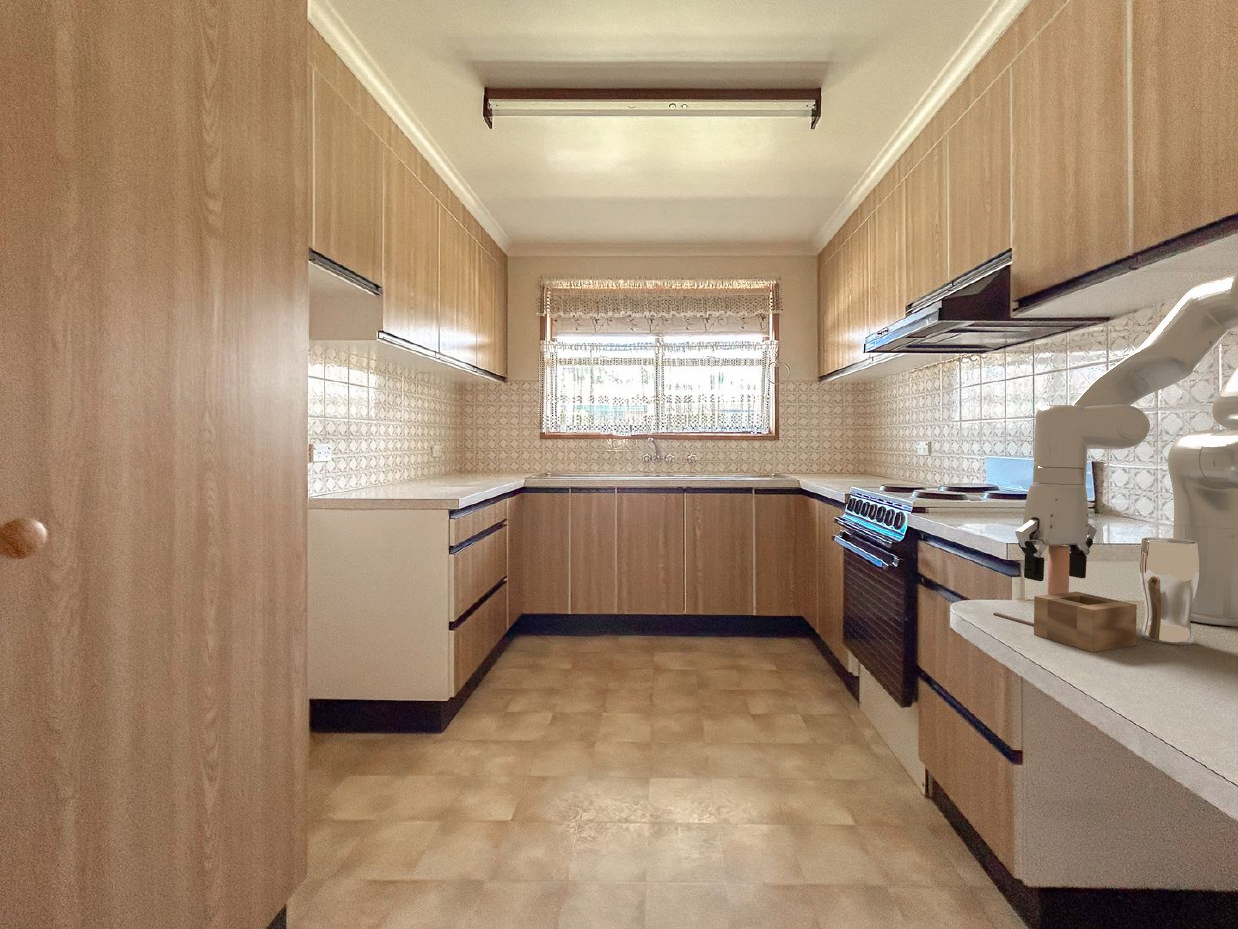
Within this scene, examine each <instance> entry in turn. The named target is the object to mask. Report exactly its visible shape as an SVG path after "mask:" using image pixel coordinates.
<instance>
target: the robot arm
mask: <svg viewBox="0 0 1238 929" xmlns="http://www.w3.org/2000/svg"><path fill="white" fill-rule="evenodd" d="M1237 327H1238V271H1236V272H1234V273H1229V274H1227V275H1222V276H1220V277H1215V278H1212V279H1209V280H1206V281H1205V280H1204V281H1203V282H1201V283H1198V284H1196V285H1195V286H1193V287H1192V288H1191V289H1189V290H1188V291H1187V292H1185V294H1184V295H1183V296H1182V297H1181V298H1180V299H1179V301H1178V302H1177V303H1176V304H1175V305H1174V307H1173V308H1172V309H1171V310H1170V311H1169V312H1168V313H1167V315H1166V316H1165V317H1164V318H1163V319H1162V321H1161V322H1160V323H1158V325H1157V326H1156V328H1155V329H1154V330H1153V331H1152V332H1151V333H1150V335H1149V336H1148V337H1147V338H1146V339H1145V340H1144V342H1142V343H1141V344H1140V346H1139V347H1138V348H1137V349H1135V350H1134V351H1133V352H1131V353H1129V355H1127V356H1125V357H1124V358H1123V359H1121V360H1120V361H1118V363H1116V364H1115V365H1114V366H1112V367H1111V368H1110V369H1109V370H1107V371H1105V372H1104V373H1103V374H1101V375H1100V376H1099V377H1098V378H1097V379H1095V380H1094V381H1093V382H1092V383H1091V384H1090V385H1089V386H1087V388H1085V390H1084V391H1083V392H1082V393H1081V394H1080V395H1079V396H1078V397H1077V399H1076V400H1075V401H1074V403H1072V404H1054V405H1053V404H1052V405H1044V406H1041V407H1039V408H1038V409H1037V411H1036V414H1035V421H1034V422H1035V424H1034V425H1035V426H1034V445H1033V446H1034V448H1033V467H1032V468H1033V472H1032V473H1033V474H1032V485H1029V487H1028V492H1027V494H1026V498H1025V504H1024V505H1025V506H1024V512H1023V519H1022V526H1020V527H1019V528H1017V529H1016V530H1015V533H1014V534H1015V536H1016V539H1017V541H1018V544H1017V545H1018V546H1019V548H1020V549H1021V554H1022V555H1024V559H1023V560H1024V561H1023V562H1024V565H1023V577H1024V578H1025V579H1027V580H1032V581H1035V582H1043V581H1044V580H1045V579H1044V577H1045V557H1043V554H1044V552H1045V551H1046V550H1047V549H1048V546H1068V547H1070V555H1069V577H1073V578H1078V579H1086V578H1087V577H1086V576H1087V558H1088V556H1089V555H1090V548H1091V547H1092V546H1093V544H1094V539H1095V537H1096V534H1097V528H1096V527H1095V526H1093V525H1092V524H1090V523H1089V521H1090V520H1089V503H1088V502H1089V501H1088V493H1087V466H1088V450H1113V451H1115V450H1117V451H1119V450H1125V449H1131V448H1133V447H1135V446H1137V445H1139V444H1141V443H1142V442H1143V441H1144V440H1145V439H1146V438H1147V437H1148V435H1149V433H1150V431H1151V422H1150V420H1149V417H1148V415H1147V414H1146V413H1145V412H1144V411H1142V410H1141V409H1140V408H1137V407H1135V406H1133V404H1134V403H1136V402H1138V401H1140V400H1141V399H1143V398H1145V397H1147V396H1148V395H1151V394H1153V393H1155V392H1157V391H1160V390H1163V389H1166V388H1168V387H1171V386H1173V385H1174V384H1177V383H1178V382H1181V381H1182V380H1185V379H1186V378H1188V377H1190V376H1191V375H1192V374H1193V373H1194V372H1195V371H1196V370H1197V369H1198V368H1199V367H1200V365H1201V364H1202V362H1204V360H1205V359H1206V358H1207V357H1208V356H1209V354H1210V353H1211V352H1212V351H1213V350H1214V349H1215V347H1217V346H1218V344H1219V343H1220V342H1221V341H1222V340H1223V338H1224V337H1226V335H1227V334H1228V333H1229V332H1230V331H1231V330H1232V329H1234V328H1237ZM1211 408H1212V409H1211V410H1212V412H1211V414H1212V417H1213V420H1214V421H1215V422H1216V423H1217V424H1219V425H1220V426H1222V427H1224V428H1226V429H1206V430H1205V429H1204V430H1197V431H1193V432H1190V433H1187V434H1184V435H1183V436H1181V437H1179V438H1178V439H1176V440H1175V441H1174V443H1173V444H1172V446H1171V448H1170V449H1169V452H1168V454H1167V455H1168V456H1167V468H1168V474H1169V477H1170V482H1171V487H1172V494H1173V532H1172V533H1173V534H1172V538H1176V539H1185V540H1191V541H1196V542H1198V552H1199V581H1198V587H1197V591H1196V595H1195V599H1194V603H1193V607H1192V611H1191V622H1194V623H1199V624H1208V625H1214V626H1215V625H1216V626H1226V627H1227V626H1228V627H1238V365H1237V366H1236V367H1235V369H1234V370H1233V372H1232V374H1231V375H1230V376H1229V378H1227V380H1226V383H1224V385H1223V386H1222V388H1221V390H1220V391H1219V393H1218V394H1217V396H1216V398H1215V399H1214V402H1213V404H1212V407H1211ZM1036 546H1037V547H1036Z"/></svg>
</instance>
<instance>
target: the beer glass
mask: <svg viewBox="0 0 1238 929" xmlns="http://www.w3.org/2000/svg"><path fill="white" fill-rule="evenodd" d="M1138 559H1139V560H1138V569H1139V570H1138V576H1139V581H1140V588H1141V593H1142V594H1141V595H1142V598H1143V603H1144V604H1143V605H1144V620H1143V624H1142V628H1141V632H1140V633H1141V634H1140V635H1141V637H1143V638H1144V639H1145V640H1149V641H1151V642H1156V643H1161V644H1166V645H1173V646H1174V645H1175V646H1190V645H1193V644H1194V634H1193V630H1192V624H1191V622H1192V621H1191V611H1192V607H1193V603H1194V599H1195V595H1196V591H1197V587H1198V581H1199V552H1198V542H1196V541H1191V540H1185V539H1176V538H1173V537H1172V538H1171V537H1157V536H1156V537H1154V536H1153V537H1141V544H1140V551H1139V558H1138Z"/></svg>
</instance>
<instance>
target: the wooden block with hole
mask: <svg viewBox="0 0 1238 929" xmlns="http://www.w3.org/2000/svg"><path fill="white" fill-rule="evenodd" d="M1033 598H1034V600H1033V601H1034V603H1033V604H1034V606H1033V610H1034V611H1033V612H1034V614H1033V623H1034V626H1033V635H1035V636H1038V637H1040V638H1043V639H1048V640H1051V641H1054V642H1057V643H1061V644H1064V645H1068V646H1071V647H1073V648H1078V649H1081V650H1083V651H1087V652H1092V653H1094V652H1099V651H1106V650H1114V649H1120V648H1121V649H1122V648H1128V647H1133V646H1136V645H1137V615H1138V613H1137V612H1138V611H1137V610H1138V608H1137V606H1138V605H1137V604H1135V603H1131V602H1126V601H1123V600H1122V601H1121V600H1117V599H1112V598H1108V597H1102V596H1099V595H1094V594H1091V593H1090V594H1089V593H1086V592H1085V593H1084V592H1079V591H1071V592H1070V591H1069V592H1068V593H1059V594H1050V595H1048V594H1042V595H1034V597H1033Z"/></svg>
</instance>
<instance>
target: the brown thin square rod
mask: <svg viewBox="0 0 1238 929" xmlns="http://www.w3.org/2000/svg"><path fill="white" fill-rule="evenodd" d="M992 614H993V616H996V617H1000V618H1003V619H1007V620H1010V619H1011V621H1014V620H1015V621H1014V622H1017V621H1018V623H1021V624H1024V625H1028V626H1031V627H1034V622H1031V621H1028V620H1025V619H1022V618H1021V619H1020V618H1017V617H1013V616H1011V615H1007V614H1002V613H999V612H993V613H992Z"/></svg>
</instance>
